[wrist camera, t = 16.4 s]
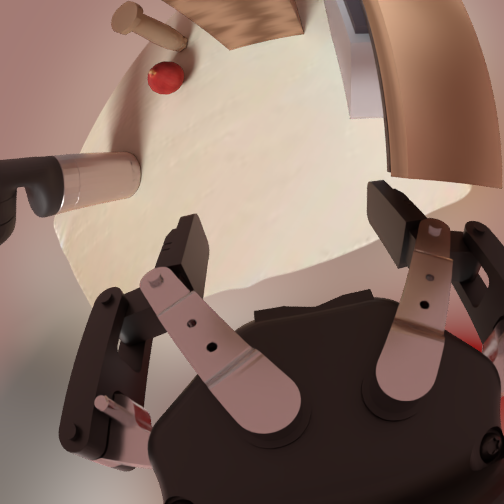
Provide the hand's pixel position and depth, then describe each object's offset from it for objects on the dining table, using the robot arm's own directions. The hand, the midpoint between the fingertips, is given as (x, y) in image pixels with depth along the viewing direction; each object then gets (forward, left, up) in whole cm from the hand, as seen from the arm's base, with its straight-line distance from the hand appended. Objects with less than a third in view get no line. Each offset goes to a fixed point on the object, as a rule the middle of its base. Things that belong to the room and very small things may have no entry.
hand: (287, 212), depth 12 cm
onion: (-22, +21, -26) cm, 40 cm away
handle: (-21, +29, -26) cm, 44 cm away
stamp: (+8, +12, -1) cm, 14 cm away
